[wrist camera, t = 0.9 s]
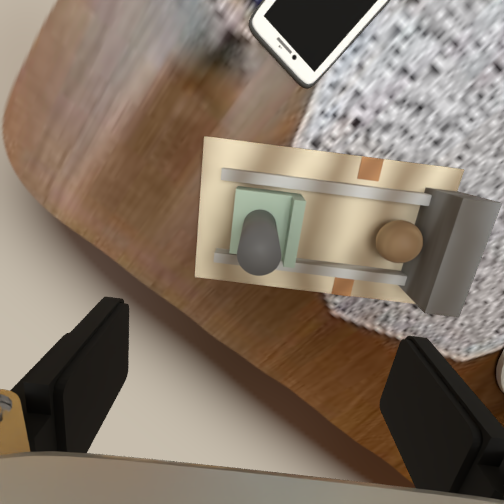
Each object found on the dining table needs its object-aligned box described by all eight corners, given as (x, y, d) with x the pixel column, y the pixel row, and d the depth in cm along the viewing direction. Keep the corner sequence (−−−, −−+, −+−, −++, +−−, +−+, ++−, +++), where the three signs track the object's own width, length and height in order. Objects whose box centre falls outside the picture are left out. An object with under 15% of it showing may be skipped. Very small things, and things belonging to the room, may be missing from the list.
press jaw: (300, 193, 30) (318, 218, 21) (290, 253, 32) (302, 300, 23) (237, 185, 30) (226, 206, 21) (231, 246, 32) (218, 290, 23)
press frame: (455, 168, 31) (512, 176, 24) (413, 297, 36) (451, 337, 29) (206, 136, 31) (190, 135, 24) (197, 271, 35) (181, 304, 28)
